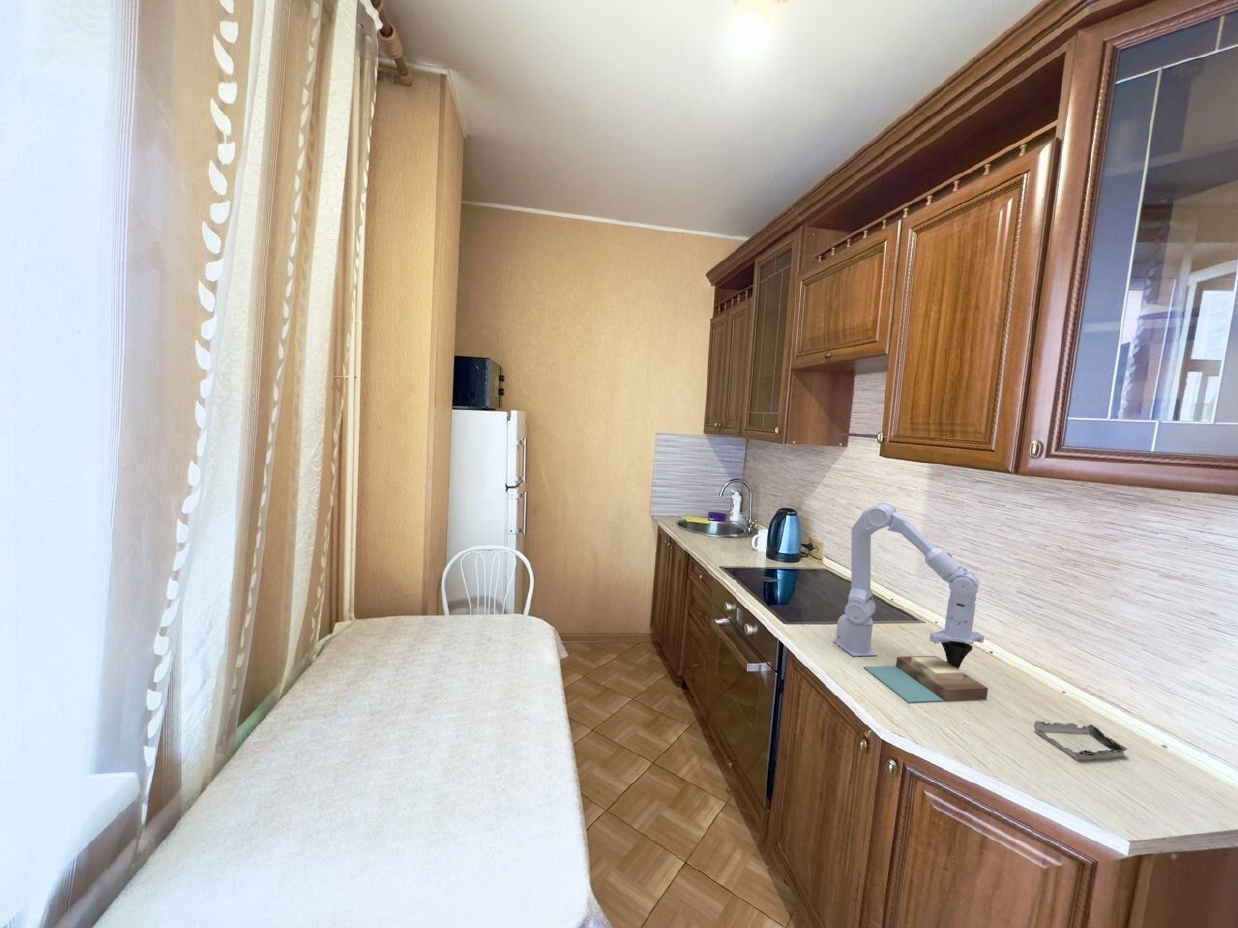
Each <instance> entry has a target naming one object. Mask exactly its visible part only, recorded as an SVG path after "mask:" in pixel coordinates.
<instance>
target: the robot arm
mask: <svg viewBox="0 0 1238 928" xmlns="http://www.w3.org/2000/svg"><path fill="white" fill-rule="evenodd" d="M886 527H888V528H887V531H889V532H893V533H898V534H901V535H902V536H903V537H904V538H905V539H906V540H907V541H908V542H910V544H912V545H913V546H914V547H915V548H916V549H918V550H919V551H920V552H921V553H922V554H923V555H924V561H925V563H926V564H927V566H928V567H930V569H931V570H933V572H935V573H936V574H937V575H938V576H939V577H940V578H941V579H942V580H943V581H944V582H945V583H948V588H949V590H950V595H949V597H948V601H947V606H946V607H947V608H946V609H947V610H946V614H945V615H946V616H945V622H944V623H945V624H944V629H943V630H939V631H936V632H930V633H929V641H930V642H933V644H935V645H936V644H941V645H942V647H943V650H944V653H945V658H946V662H948V663H949V664H951V665H953V666H954V667H956V668H958V669H959V670H960V668H961V665H962V663H963V661H964V659H965V658H966V657H967V656H968V654H969V653H970V652H972V651H973V648H974V647H973V644H974V642H975V643H976V642H978V643H980V644H982V643H984V640H985V635H983V634H982V633H980V632H977V631H976V632H974V631H973V626H974V618H975V611H976V603H975V602H976V601H977V593H978V591H979V590H978V589H979V585H980V582H979V579H978V577H977V576H976V575H975V573H974V572H972V571H969V569H968V567H966V566H962V565H961V564H960V563H959V562H958V561H957V560H956V559H955V558H954V557H953V555H954V554H953V553H952V552H951V551H950V550H948V551H947V550H945V548H941V547H940V548H939V547H936V546H935V545H933V544H932V542H931V541H930V540H929V539H928V538H927V537H926V536H924V534H923V533H922V532H921V531H919V529H918V528H917V527H916V526H915V525H914V524H913V523H912V522H911V521H910V520H909V519H908V518H907V517H906V516H905V515H904V513H902V512H900V511H899V510H897V509H896V507H894V506H893V505H892V504H890V503H887V502H882V503H879V504H877V505H873V506H871V507H869V508H867V509H866V510H864V511H863V512H862V513H861V516H859V518H858V519H857V520H856V521H855V523H854V524H853V526H852V527H851V546H850V547H851V551H850V552H851V556H850V557H851V559H850V561H851V564H850V566H851V567H850V568H851V569H850V571H851V576H850V577H851V578H850V579H851V581H850V583H851V585H850V590H849V594H848V599H847V600H848V601H847V604H846V605H845V607H844V614H842V615H841V616H840V617H839V618H838V620H837V625H836V634H835V635H836V636H835V639H833V640H832V642H833V643H835V644H836V645H837V646H838V647H840V648H841V649H843V650H844V651H845V652H846V653H848V654H849V655H850V656H852V657H870V656H873V657H874V656H878V655H877V653H876V652H875V651H874V650H872V649H871V644H872V635H873V627H874V621H873V618H872V615H874V614H875V612H876V610H877V606H876V605H877V604H876V602H875V600H874V598H873V590H872V589H871V588H872V587H871V584H872V583H871V575H872V573H871V572H872V571H871V569H872V568H871V567H872V566H871V565H872V563H871V561H872V560H871V559H872V558H871V553H872V552H871V551H872V547H871V546H872V545H871V544H872V543H871V542H872V541H871V540H872V535H873V534H874V533H876V532H878V531H879V530H881V529H884V528H886Z"/></svg>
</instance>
